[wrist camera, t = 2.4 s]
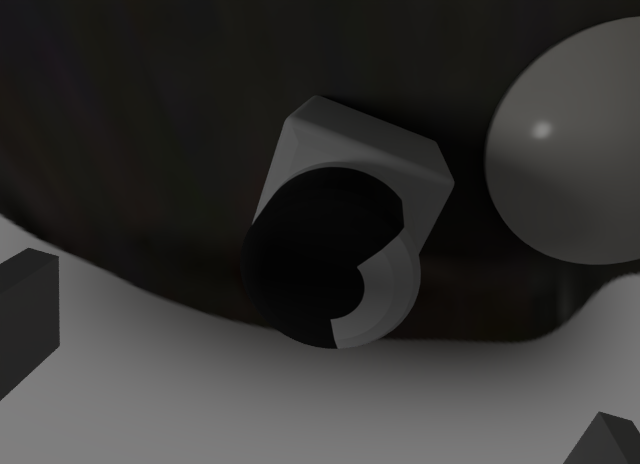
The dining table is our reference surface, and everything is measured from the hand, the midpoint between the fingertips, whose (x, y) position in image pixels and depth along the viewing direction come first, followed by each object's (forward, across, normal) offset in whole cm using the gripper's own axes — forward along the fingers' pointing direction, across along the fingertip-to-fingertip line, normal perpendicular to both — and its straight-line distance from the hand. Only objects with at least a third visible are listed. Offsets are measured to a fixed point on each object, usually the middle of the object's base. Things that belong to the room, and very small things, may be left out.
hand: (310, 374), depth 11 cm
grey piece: (+16, 0, 0) cm, 16 cm away
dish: (+16, +12, +5) cm, 20 cm away
